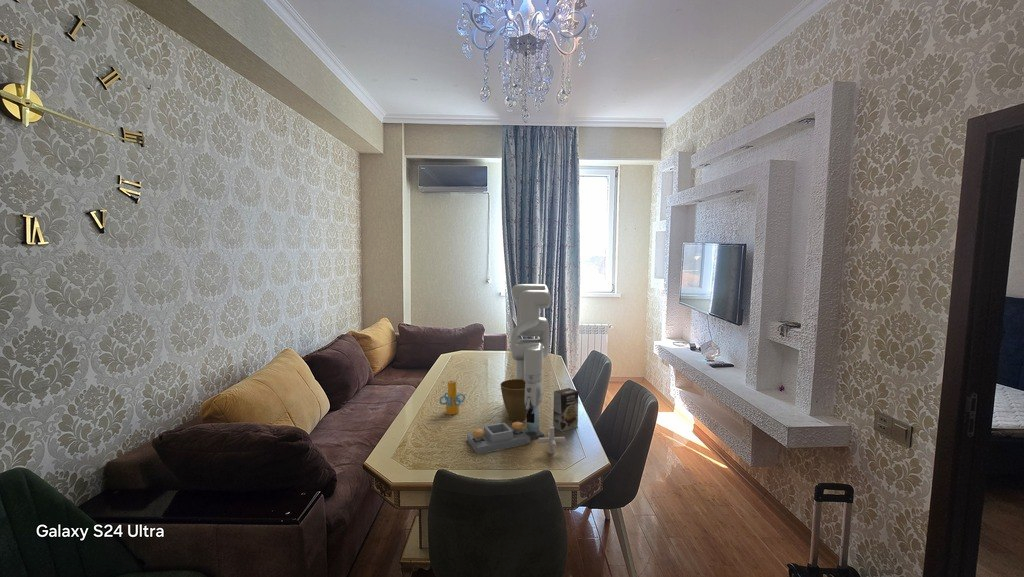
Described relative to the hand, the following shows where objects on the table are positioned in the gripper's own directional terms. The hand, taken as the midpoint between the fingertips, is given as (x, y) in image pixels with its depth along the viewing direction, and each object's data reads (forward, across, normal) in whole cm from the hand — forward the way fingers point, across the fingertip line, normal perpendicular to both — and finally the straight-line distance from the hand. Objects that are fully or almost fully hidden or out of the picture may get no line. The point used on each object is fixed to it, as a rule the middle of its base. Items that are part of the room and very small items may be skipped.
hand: (532, 419), depth 181 cm
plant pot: (+7, +14, +12) cm, 20 cm away
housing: (+7, -11, +11) cm, 17 cm away
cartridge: (+4, 0, 0) cm, 4 cm away
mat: (+7, 0, 0) cm, 7 cm away
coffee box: (+7, +12, -11) cm, 18 cm away
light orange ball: (+5, -5, +5) cm, 9 cm away
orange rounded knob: (+5, -17, +17) cm, 25 cm away
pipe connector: (+7, -12, -12) cm, 18 cm away
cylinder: (+7, +10, +43) cm, 44 cm away
